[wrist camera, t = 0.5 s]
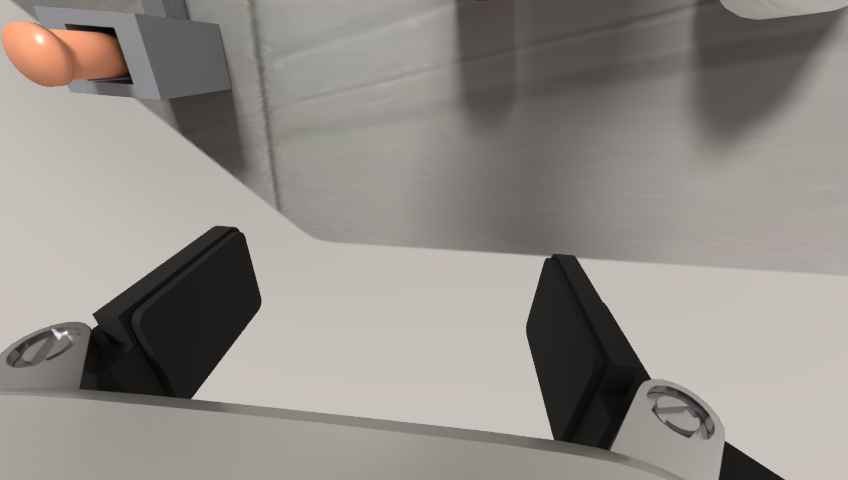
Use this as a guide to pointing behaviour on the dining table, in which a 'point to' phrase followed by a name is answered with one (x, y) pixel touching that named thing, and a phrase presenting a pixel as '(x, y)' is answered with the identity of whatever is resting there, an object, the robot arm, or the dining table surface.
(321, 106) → the dining table surface
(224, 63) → the end cabinet
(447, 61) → the dining table surface
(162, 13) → the grey slide rail
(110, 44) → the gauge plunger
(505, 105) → the dining table surface
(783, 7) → the honey pot
